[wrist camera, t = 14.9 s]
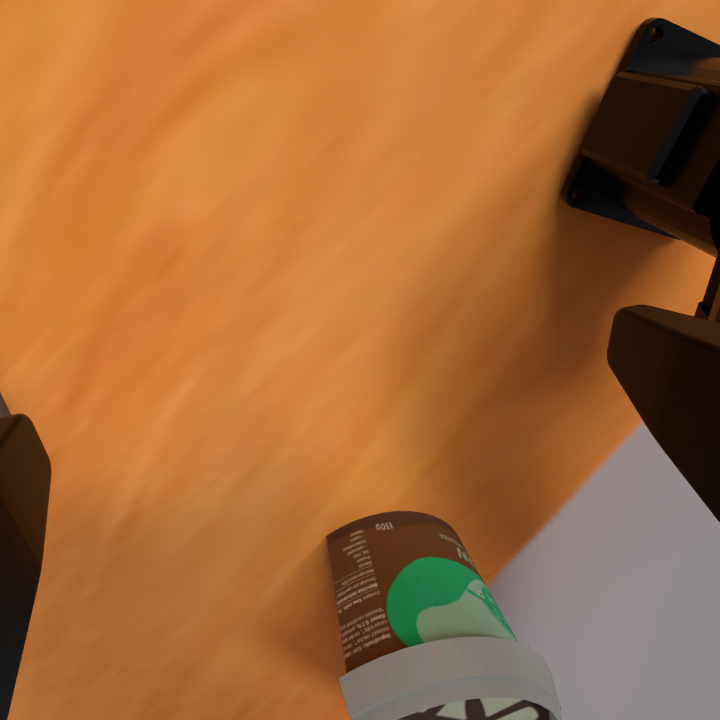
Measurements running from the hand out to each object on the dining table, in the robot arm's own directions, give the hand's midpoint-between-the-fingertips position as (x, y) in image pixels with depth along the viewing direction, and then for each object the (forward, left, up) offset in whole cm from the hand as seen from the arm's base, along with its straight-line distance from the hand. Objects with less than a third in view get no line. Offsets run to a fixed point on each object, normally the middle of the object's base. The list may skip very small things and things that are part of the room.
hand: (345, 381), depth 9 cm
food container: (-13, +17, -13) cm, 25 cm away
